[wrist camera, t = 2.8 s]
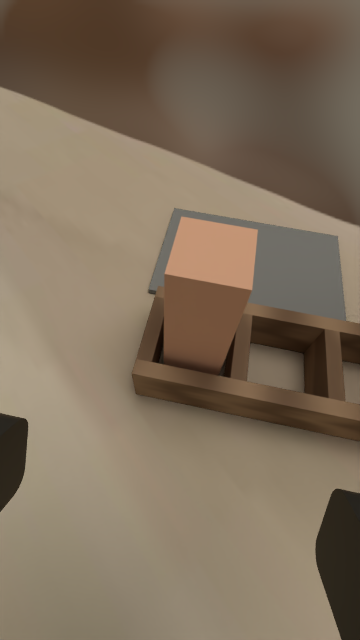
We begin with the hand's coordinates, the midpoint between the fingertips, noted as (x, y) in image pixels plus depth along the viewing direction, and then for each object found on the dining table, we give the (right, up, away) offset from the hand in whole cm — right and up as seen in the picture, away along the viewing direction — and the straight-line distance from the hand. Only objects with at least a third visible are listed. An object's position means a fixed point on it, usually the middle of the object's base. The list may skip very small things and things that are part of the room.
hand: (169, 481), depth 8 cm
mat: (+8, +10, +27) cm, 30 cm away
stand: (+9, -1, +20) cm, 22 cm away
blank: (+1, +1, +21) cm, 21 cm away
